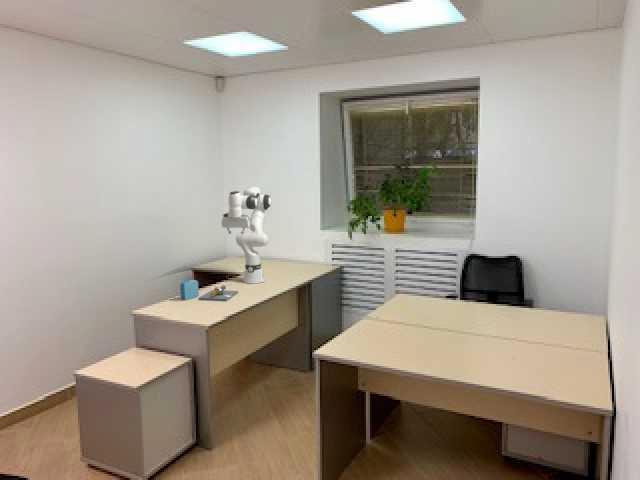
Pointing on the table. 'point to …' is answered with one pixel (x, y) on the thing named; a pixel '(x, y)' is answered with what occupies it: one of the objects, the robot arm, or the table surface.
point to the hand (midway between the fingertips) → (236, 233)
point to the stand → (218, 296)
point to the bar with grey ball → (218, 290)
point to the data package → (189, 289)
